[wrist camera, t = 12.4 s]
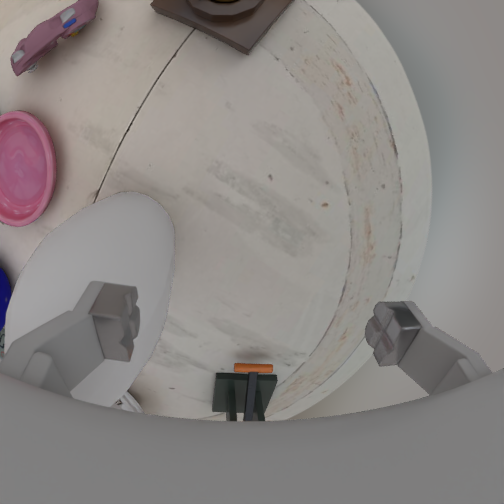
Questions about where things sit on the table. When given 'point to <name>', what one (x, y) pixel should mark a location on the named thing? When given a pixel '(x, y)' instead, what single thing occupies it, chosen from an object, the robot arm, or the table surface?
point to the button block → (226, 18)
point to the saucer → (25, 168)
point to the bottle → (105, 270)
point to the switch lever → (251, 384)
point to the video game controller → (51, 34)
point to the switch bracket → (241, 394)
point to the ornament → (4, 297)
